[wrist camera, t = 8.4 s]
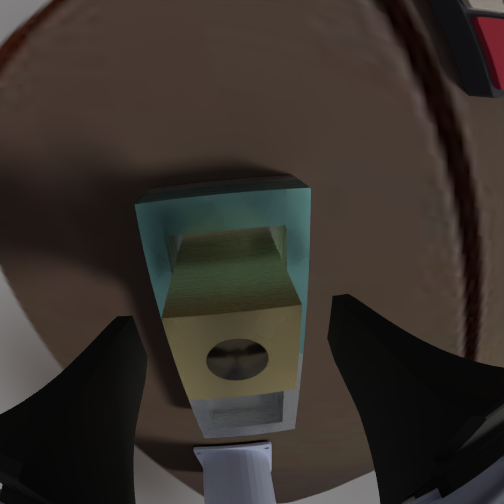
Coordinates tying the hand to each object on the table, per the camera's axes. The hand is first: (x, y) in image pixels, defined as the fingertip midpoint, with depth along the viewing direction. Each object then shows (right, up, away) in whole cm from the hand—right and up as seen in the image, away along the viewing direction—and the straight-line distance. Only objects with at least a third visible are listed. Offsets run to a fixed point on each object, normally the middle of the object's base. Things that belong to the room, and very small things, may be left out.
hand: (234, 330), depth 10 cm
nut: (-1, +2, +4) cm, 5 cm away
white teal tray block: (0, -2, +7) cm, 8 cm away
